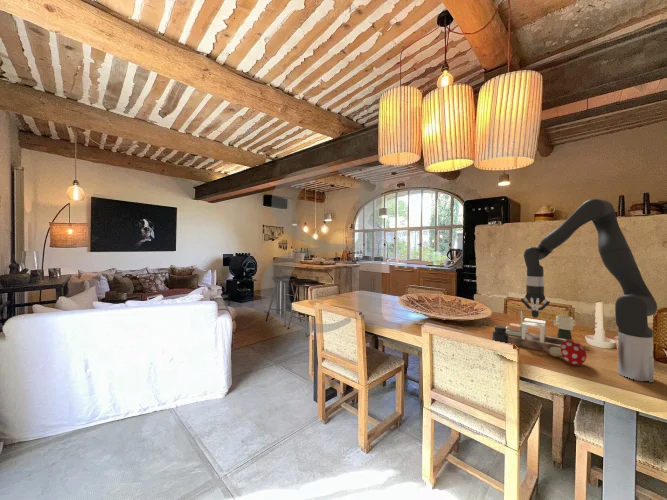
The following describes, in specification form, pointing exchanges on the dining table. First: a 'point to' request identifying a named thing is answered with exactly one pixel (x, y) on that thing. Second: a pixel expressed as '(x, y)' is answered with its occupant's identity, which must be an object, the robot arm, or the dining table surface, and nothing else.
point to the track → (536, 341)
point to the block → (515, 327)
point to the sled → (515, 331)
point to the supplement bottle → (500, 334)
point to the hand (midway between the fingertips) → (535, 317)
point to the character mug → (564, 326)
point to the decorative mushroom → (570, 352)
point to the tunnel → (535, 324)
